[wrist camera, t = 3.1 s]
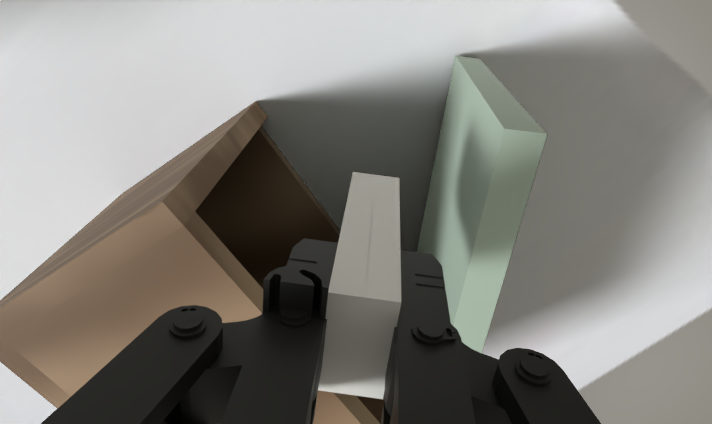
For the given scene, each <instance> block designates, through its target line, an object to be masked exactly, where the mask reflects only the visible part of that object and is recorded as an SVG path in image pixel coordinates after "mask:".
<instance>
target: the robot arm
mask: <svg viewBox="0 0 712 424" xmlns="http://www.w3.org/2000/svg"><path fill="white" fill-rule="evenodd" d="M318 390H319V391H327V392H334V393H341V394H348V395H355V396H363V397H370V398H377V399H383V396H384V391H385V400H384V406H383V411H382V416H381V422H380V424H601V423H600V422H599V420H598V419H597V417H596V416H595V415H594V413H593V412H592V410H591V409H590V408H589V406H588V405H587V403H586V402H585V401H584V399H583V398H582V396H581V395H580V394H579V392H578V391H577V389H576V388H575V386H574V385H573V384H572V382H571V381H570V379H569V378H568V377H567V375H566V374H565V372H564V371H563V370H562V369H561V368H560V367H559V366H558V365H557V364H556V362H555V361H553V360H552V359H550V358H548V357H547V356H545V355H544V354H542V353H539V352H536V351H533V350H530V349H522V348H515V349H510V350H507V351H505V352H504V353H503V354H502V355H500V359H499V360H498V359H495V358H492V357H490V356H487V355H484V354H482V353H479V352H477V351H475V350H473V349H471V348H470V347H468V346H467V345H465V344H464V343H463V342H462V340H461V337H460V335H459V332H458V330H457V329H456V328H455V327H454V326H453V325H452V324H451V321H450V315H449V308H448V302H447V295H446V290H445V282H444V276H443V269H442V265H441V264H440V263H439V261H438V260H437V259H436V258H435V256H434V255H433V254H427V253H419V252H412V251H404V250H400V189H399V178H396V177H388V176H381V175H373V174H366V173H358V172H353V174H352V178H351V183H350V188H349V193H348V198H347V203H346V207H345V212H344V217H343V222H342V227H341V232H340V237H339V241H338V243H335V242H328V241H320V240H313V239H306V238H304V239H303V240H301V241H300V242H299V243H297V244H296V245H295V246H294V247H293V248H292V251H291V254H290V257H289V260H288V262H287V265H286V266H285V267H280V268H277V269H275V270H273V271H271V272H269V273H268V275H267V276H266V277H265V278H264V288H263V312H262V314H261V315H260V316H258V317H255V318H252V319H250V320H245V321H239V322H228V323H222V318H221V317H220V316H219V315H218V313H217V312H216V311H214V310H212V309H210V308H208V307H204V306H197V305H190V306H181V307H178V308H174V309H171V310H169V311H167V312H166V313H164V314H163V315H161V316H160V317H158V318H157V319H156V320H155V321H154V322H153V323H152V324H151V325H150V326H148V327H147V328H146V329H145V330H144V331H143V332H142V333H141V334H140V335H138V336H137V337H136V338H135V339H134V340H133V341H132V342H131V343H130V344H129V345H127V346H126V347H125V348H124V349H123V350H122V351H121V352H120V353H119V354H117V355H116V356H115V357H114V358H113V359H112V360H111V361H110V362H109V363H108V364H106V365H105V366H104V367H103V368H102V369H101V370H100V371H99V372H98V373H96V374H95V375H94V376H93V377H92V378H91V379H90V380H89V381H88V382H87V383H85V384H84V385H83V386H82V387H81V388H80V389H79V390H78V391H77V392H75V393H74V394H73V395H72V396H71V397H70V398H69V399H68V400H67V401H66V402H64V403H63V404H62V405H61V406H60V407H59V408H58V409H57V410H56V411H54V412H53V413H52V414H51V415H50V416H49V417H48V418H47V419H46V420H45V421H43V422H42V423H41V424H313V421H314V415H315V410H316V401H317V392H318Z"/></svg>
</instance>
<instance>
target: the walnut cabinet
mask: <svg viewBox="0 0 712 424" xmlns="http://www.w3.org/2000/svg"><path fill="white" fill-rule="evenodd" d="M267 118H268V116H267V115H266V114H265V112H264V111H263V110H262V108H261V107H260V106H259V104H258V103H257V102H254V103H253V104H251V105H250V106H248V107H247V108H245V109H244V110H243V111H241V112H240V113H238V114H237V115H235V116H234V117H232V118H231V119H230V120H228V121H227V122H225V123H224V124H222V125H221V126H219V127H218V128H217V129H215V130H214V131H212V132H211V133H209V134H208V135H206V136H205V137H204V138H202V139H201V140H199V141H198V142H196V143H195V144H193V145H192V146H190V147H189V148H188V149H186V150H185V151H183V152H182V153H180V154H179V155H177V156H176V157H175V158H173V159H172V160H170V161H169V162H167V163H166V164H164V165H163V166H162V167H160V168H159V169H157V170H156V171H154V172H153V173H151V174H150V175H149V176H147V177H146V178H144V179H143V180H141V181H140V182H138V183H137V184H136V185H134V186H133V187H131V188H130V189H128V190H127V191H125V192H124V193H123V194H121V195H120V196H119V197H118V198H117V199H116V200H115V201H113V202H112V203H111V204H110V205H109V206H108V207H107V208H105V209H104V210H103V211H102V212H101V213H100V214H99V215H97V216H96V217H95V218H94V219H93V220H92V221H91V222H89V223H88V224H87V225H86V226H85V227H84V228H83V229H81V230H80V231H79V232H78V233H77V234H76V235H75V236H73V237H72V238H71V239H70V240H69V241H68V242H67V243H65V244H64V245H63V246H62V247H61V248H60V249H59V250H57V251H56V252H55V253H54V254H53V255H52V256H51V257H49V258H48V259H47V260H46V261H45V262H44V263H43V264H42V265H40V266H39V267H38V268H37V269H36V270H35V271H34V272H32V273H31V274H30V275H29V276H28V277H27V278H26V279H24V280H23V281H22V282H21V283H20V284H19V285H18V286H16V287H15V288H14V289H13V290H12V291H11V292H10V293H8V294H7V295H6V296H5V297H4V298H3V299H2V300H0V362H1V363H3V364H4V365H5V366H6V367H7V368H9V369H10V370H11V371H12V372H14V373H15V374H16V375H17V376H18V377H20V378H21V379H22V380H23V381H25V382H26V383H27V384H28V385H29V386H31V387H32V388H33V389H34V390H35V391H37V392H38V393H39V394H40V395H42V396H43V397H44V398H45V399H46V400H48V401H49V402H50V403H51V404H53V405H54V406H55V407H56V408H57V409H58V408H59V407H60V406H61V405H62V404H63V403H64V402H66V401H67V400H68V399H69V398H70V397H71V396H72V395H73V394H74V393H75V392H77V391H78V390H79V389H80V388H81V387H82V386H83V385H84V384H85V383H87V382H88V381H89V380H90V379H91V378H92V377H93V376H94V375H95V374H96V373H98V372H99V371H100V370H101V369H102V368H103V367H104V366H105V365H106V364H108V363H109V362H110V361H111V360H112V359H113V358H114V357H115V356H116V355H117V354H119V353H120V352H121V351H122V350H123V349H124V348H125V347H126V346H127V345H129V344H130V343H131V342H132V341H133V340H134V339H135V338H136V337H137V336H138V335H140V334H141V333H142V332H143V331H144V330H145V329H146V328H147V327H148V326H150V325H151V324H152V323H153V322H154V321H155V320H156V319H157V318H158V317H160V316H161V315H163V314H164V313H166V312H167V311H169V310H171V309H174V308H178V307H181V306H190V305H197V306H204V307H208V308H210V309H212V310H214V311H216V312H217V313H218V315H219V316H220V317H221V318H222V323H228V322H239V321H245V320H250V319H252V318H255V317H258V316H260V315H261V314H262V312H263V288H264V278H265V277H266V276H267V275H268V273H269V272H271V271H273V270H275V269H277V268H280V267H285V266H286V265H287V262H288V260H289V257H290V254H291V251H292V248H293V247H294V246H295V245H296V244H297V243H299V242H300V241H301V240H303V239H304V238H306V239H313V240H320V241H328V242H335V243H338V241H339V237H340V232H341V231H340V230H339V228H338V227H337V226H336V224H335V223H334V222H333V220H332V219H331V218H330V216H329V215H328V214H327V212H326V211H325V210H324V208H323V207H322V206H321V204H320V203H319V202H318V200H317V199H316V198H315V196H314V195H313V194H312V192H311V191H310V190H309V189H308V187H307V186H306V185H305V183H304V182H303V181H302V179H301V178H300V177H299V175H298V174H297V173H296V171H295V170H294V169H293V167H292V166H291V165H290V163H289V162H288V161H287V159H286V158H285V157H284V155H283V154H282V153H281V151H280V150H279V149H278V147H277V146H276V145H275V143H274V142H273V141H272V139H271V138H270V137H269V135H268V134H267V133H266V131H265V130H264V129H263V127H262V126H261V125H262V124H263V123H264V121H265V120H266V119H267ZM384 400H385V391H384V396H383V399H377V398H370V397H363V396H355V395H348V394H341V393H334V392H327V391H319V390H318V392H317V401H316V410H315V415H314V421H313V424H380V422H381V416H382V411H383V406H384Z"/></svg>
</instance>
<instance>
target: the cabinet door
mask: <svg viewBox="0 0 712 424" xmlns="http://www.w3.org/2000/svg"><path fill="white" fill-rule="evenodd" d="M546 138H547V133H546V132H545V131H544V130H543V129H542V127H541V126H540V125H539V124H538V123H537V122H536V121H535V120H534V119H533V117H532V116H531V115H530V114H529V113H528V112H527V111H526V110H525V108H524V107H523V106H522V105H521V104H520V103H519V102H518V101H517V100H516V98H515V97H514V96H513V95H512V94H511V93H510V92H509V91H508V89H507V88H506V87H505V86H504V85H503V84H502V83H501V82H500V81H499V79H498V78H497V77H496V76H495V75H494V74H493V73H492V72H491V70H490V69H489V68H488V67H487V66H486V65H485V64H484V63H483V62H482V60H481V59H477V58H470V57H462V56H455V60H454V65H453V70H452V75H451V80H450V85H449V90H448V95H447V100H446V105H445V110H444V116H443V121H442V126H441V131H440V136H439V141H438V146H437V151H436V156H435V161H434V166H433V171H432V176H431V181H430V186H429V191H428V196H427V201H426V206H425V211H424V216H423V222H422V227H421V232H420V237H419V242H418V247H417V252H419V253H427V254H433V255H434V256H435V258H436V259H437V260H438V261H439V263H440V264H441V265H442V269H443V276H444V282H445V290H446V295H447V302H448V308H449V315H450V321H451V324H452V325H453V326H454V327H455V328H456V329H457V330H458V332H459V335H460V337H461V340H462V342H463V343H464V344H465V345H467V346H468V347H470V348H471V349H473V350H475V351H477V352H479V353H482V350H483V347H484V343H485V340H486V337H487V333H488V330H489V327H490V324H491V320H492V317H493V314H494V310H495V307H496V304H497V300H498V297H499V294H500V290H501V287H502V284H503V280H504V277H505V274H506V270H507V267H508V264H509V260H510V257H511V254H512V250H513V247H514V244H515V240H516V237H517V234H518V231H519V227H520V224H521V221H522V217H523V214H524V211H525V207H526V204H527V201H528V197H529V194H530V191H531V187H532V184H533V181H534V177H535V174H536V171H537V167H538V164H539V161H540V157H541V154H542V151H543V148H544V144H545V141H546Z"/></svg>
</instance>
